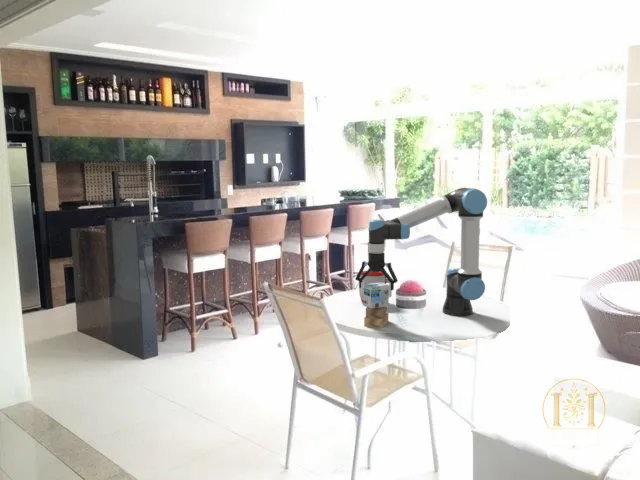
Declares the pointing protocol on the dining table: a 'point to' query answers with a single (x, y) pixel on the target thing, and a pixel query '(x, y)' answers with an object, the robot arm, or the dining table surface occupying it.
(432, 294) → the dining table surface
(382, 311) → the tower top
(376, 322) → the tower base
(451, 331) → the dining table surface
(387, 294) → the light bulb box
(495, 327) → the dining table surface
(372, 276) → the citrus juicer
